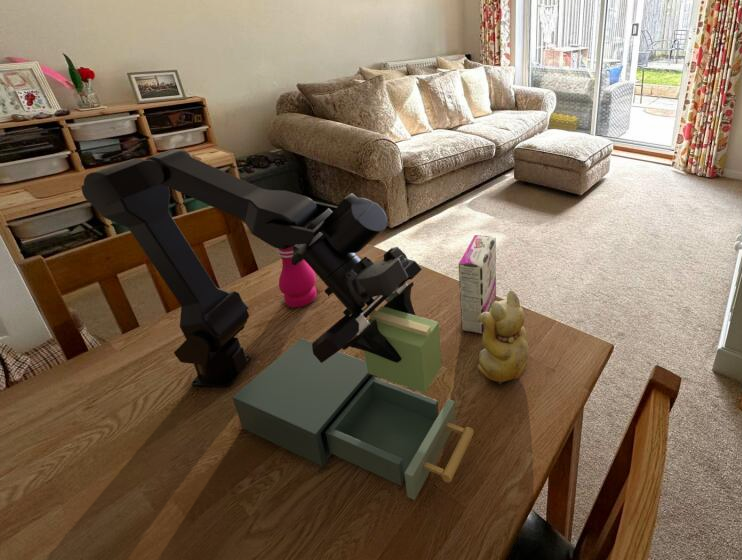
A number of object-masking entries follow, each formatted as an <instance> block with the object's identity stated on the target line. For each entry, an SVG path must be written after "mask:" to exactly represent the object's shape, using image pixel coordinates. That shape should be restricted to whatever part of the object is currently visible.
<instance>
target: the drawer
mask: <svg viewBox="0 0 742 560" xmlns="http://www.w3.org/2000/svg"><path fill="white" fill-rule="evenodd" d="M456 424H457V422H456V401H455V400H452V399H449V398H448V399H447V400H446V402H445V403H444V405H443V407H442V409H441V410H440V411H439V401H438V400H437V399H434V398H432V397H429V396H426V395H423V394H421V393H419V392H416V391H412V390H410V389H407V388H405V387H402V386H399V385H397V384H394V383H392V382H388V381H387V380H386V381H385V380H383V379H381V378H380V379H379V377H377V378H375V377H373V376H372V377H371V378H370V380H369V381H368V382H367V383H366V384H365V386H364V387H363V388H362V389H361V390H360V392H359V393H358V394H357V395H356V396H355V398H354V399H353V400H352V401H351V402H350V404H349V405H348V406H347V407H346V408H345V409H344V411H343V412H342V413H341V414H340V415H339V417H338V418H337V419H336V420H335V421H334V423H333V424H332V425H331V426H330V427H329V429H328V430H327V431H326V432H325V433H326V437H327V442H328V447H329V451H330V453H331V454H332V456H333V455H334V456H335V457H337V458H340V459H342V460H344V461H346V462H348V463H351V464H353V465H356V466H357V467H360V468H362V469H364V470H365V471H368V472H370V473H373V474H374V475H377V476H379V477H381V478H383V479H385V480H388V481H390V482H392V483H395V484H397V485H399V486H403V484H404V482H405V489H406V497H407V498H409V499H411V500H413V501H415V500H416V499H417V497H418V495H419V494H420V491H421V490H422V487H423V486H424V484H425V482H426V481H427V478H428V476H429V474H430V473H433V474H436V475H438V476H440V477H441V479H442V480H443V481H444V482H445V483H448V484H449V483H451V482H452V481H453V478H454V476H455V475H456V472H457V470H458V468H459V466H460V464H461V461H462V460H463V457H464V456H465V453H466V452H467V449H468V447H469V445H470V443H471V442H472V439H473V436H474V435H475V431H474V429H473V428H472V427H470V426H465V428H464V427H462V426H459V425H456ZM452 432H455V433H457V434H460V435H461V436H460V438H459V440H458V442H457V444H456V445H455V448H454V450H453V452H452V453H451V456H450V458H449V460H448V462H447V464H446V466H445V468H442V467H440V466H438V465H435V463H436V462H437V460H438V458H439V456H440V454H441V452H442V450H443V448H444V447H445V445H446V442H447V441H448V439H449V437H450V436H451V433H452Z"/></svg>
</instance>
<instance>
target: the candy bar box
mask: <svg viewBox="0 0 742 560" xmlns="http://www.w3.org/2000/svg"><path fill="white" fill-rule="evenodd" d="M496 244H497V237H496V236H489V235H488V236H487V235H481V234H474V235H473V236H472V239H471V241H470V243H469V245H468V247H467V248H466V250H465V252H464V253H463V255H462V257H461V259H460V261H459V262H458V283H459V297H460V298H459V301H460V321H461V331H464V332H468V333H469V332H470V333H475V334H481V335H483V333H484V330H485V326H484V324H483V323H482V322H479V321H478V318H479V316H480V314H481V313H483V312H489V310H490V308H491V306H492V303H493V302H494V301H497V256H496V255H497V245H496ZM494 296H495V297H494Z"/></svg>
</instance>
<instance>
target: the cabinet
mask: <svg viewBox="0 0 742 560" xmlns="http://www.w3.org/2000/svg"><path fill="white" fill-rule="evenodd" d="M313 342H314V341H310V340H308V339H305V338H299V339H298V340H297V341H296V342H295V343H293V344H292V345H291V346H290V347H289V348H288V349H287V350H285V351H284V352H283V353H282V354H281V355H280V356H279V357H278V358H276V359H275V360H273V362H271V363H270V364H269V365H268V366H267V367H266V368H265V369H264V370H262V371H261V372H260V373H259V374H258V375H257V376H255V377H254V378H252V380H251V381H250V382H248V383H247V384H246V385H244V387H242V388H241V389H240V390H239V391H238V392H237V393H236V394H234V395H233V396H232V401H233V404H234V407H235V410H236V413H237V416H238V420H239V423H240V426H241V428H242V430H245V431H247V432H249V433H251V434H253V435H255V436H258V437H259V438H262V439H264V440H266V441H268V442H270V443H272V444H274V445H276V446H278V447H281V448H283V449H285V450H287V451H289V452H291V453H293V454H295V455H296V456H298V457H301V458H303V459H306V460H308V461H310V462H312V463H314V464H316V465H318V466H320V467H324V465H325V464H327V462H328V461H329V459H330V458H331V457H332V456H333V454H331V453H330V451H329V447H328V442H327V437H326V433H325V432H326V431H327V430H328V429H329V427H330V426H331V425H332V424H333V423H334V421H335V420H336V419H337V418H338V417H339V415H340V414H341V413H342V412H343V411H344V409H345V408H346V407H347V406H348V405H349V404H350V402H351V401H352V400H353V399H354V398H355V396H356V395H357V394H358V393H359V392H360V390H361V389H362V388H363V387H364V386H365V384H366V383H367V382H368V381H369V380H370V378H371V377H372V376H373V377H375V378H378V377H377V376H374V375H371V374H369V373H368V370H367V364H366V360H363V359H361V358H358V357H355V356H352V355H349V354H347V353H344V352H341V351H338V352H336V353H335V354H334V355H332V356H331V357H329V358H328V359H327V360H325V361H324V362H322V363H321V362H320V361H319V360H318V359H317V358H316V356H315V355H314V354H313V350H312V343H313Z"/></svg>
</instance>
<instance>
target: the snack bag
mask: <svg viewBox="0 0 742 560" xmlns="http://www.w3.org/2000/svg"><path fill="white" fill-rule="evenodd" d="M415 315H416V314H415ZM415 315H411V314H408V313H404V312H401V311H397V310H394V309H390V308H387V307H384V305H381V306H380V307H379V308H378V309H377V310H376V309H375V310H374V311H373V312H372V313H371V314H370V315H368V317H369V318H368V319H367V320H368V322H369V323H371V322H372V321H374V320H375V319H376V321H377V325H378V330H379V332H380V333H381V334H382V335H383V336H384V337H385V338H386V340H387V341H388V342H389V343H390V344H391V345H392V346H393V347H394V349H395V350H396V351H397V353H398V354H399V355H400V357H401V358H402V359H401V361H399V362H398V363H395V362H393V361H390V360H388V359H385V358H383V357H380V356H378V355H375V354H373V353H370V352H367V351H364V350H363V352H364V358H365V361H366V364H367V370H368V373H369V374H371V375H374V376H377V378H380V379H382V380H383V379H384V380H386V381H389V382H390V383H393V384H394V383H395V384H396V385H397V384H398V385H400V386H403V387H406V388H409V389H412V390H414V391H417V392H420V393H423V394H426V393H427V392H428V390H429V388H430V386H432V384H433V382H434V380H435V379H436V377H437V375H438V373H440V370H441V369H442V368H443V365H442V351H441V349H442V348H441V337H440V336H441V335H440V322H439V321H436V320H432V319H430V318H429V319H428V318H425V317H421V316H418V315H416V316H415Z"/></svg>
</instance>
